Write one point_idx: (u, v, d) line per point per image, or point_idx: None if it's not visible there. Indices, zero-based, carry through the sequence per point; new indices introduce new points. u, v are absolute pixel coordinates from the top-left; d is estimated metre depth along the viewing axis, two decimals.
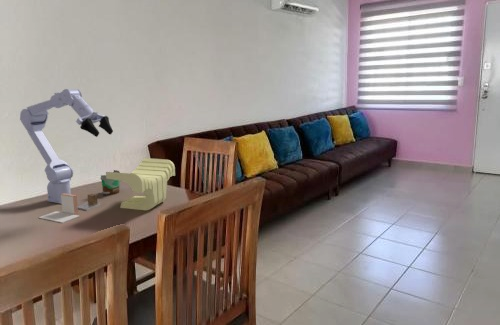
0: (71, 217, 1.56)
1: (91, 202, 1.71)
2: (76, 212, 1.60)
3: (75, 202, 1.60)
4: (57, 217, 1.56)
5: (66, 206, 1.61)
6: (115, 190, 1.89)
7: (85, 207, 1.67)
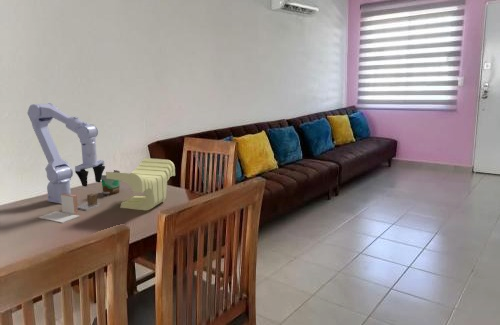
0: (71, 217, 1.56)
1: (91, 202, 1.71)
2: (76, 212, 1.60)
3: (75, 202, 1.60)
4: (57, 217, 1.56)
5: (66, 206, 1.61)
6: (115, 190, 1.89)
7: (85, 207, 1.67)
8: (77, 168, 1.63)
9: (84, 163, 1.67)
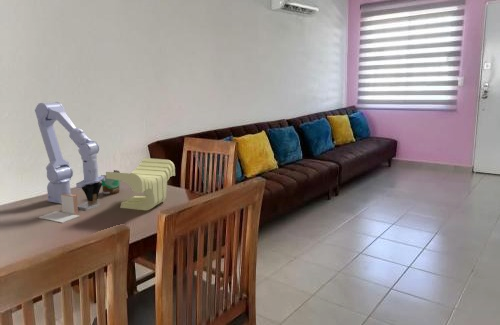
0: (71, 217, 1.56)
1: (91, 201, 1.71)
2: (76, 212, 1.60)
3: (75, 202, 1.60)
4: (57, 217, 1.56)
5: (66, 206, 1.61)
6: (115, 190, 1.89)
7: (85, 207, 1.67)
8: (78, 185, 1.64)
9: (85, 180, 1.68)
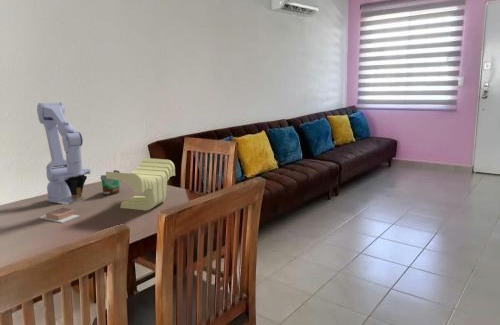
0: (71, 217, 1.56)
1: (75, 195, 1.63)
2: (73, 212, 1.59)
3: (64, 215, 1.55)
4: None
5: None
6: (115, 190, 1.89)
7: (68, 201, 1.59)
8: (61, 178, 1.56)
9: (69, 172, 1.60)
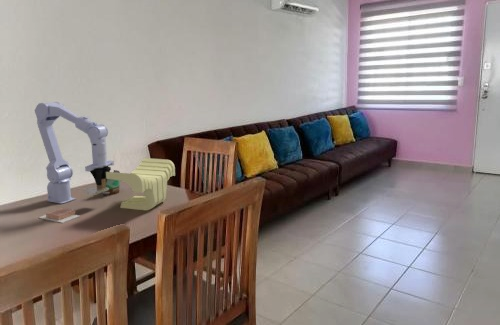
0: (71, 217, 1.56)
1: (100, 186, 1.70)
2: (73, 212, 1.59)
3: (64, 215, 1.55)
4: None
5: None
6: (115, 190, 1.89)
7: (94, 191, 1.65)
8: (87, 168, 1.63)
9: (94, 163, 1.67)
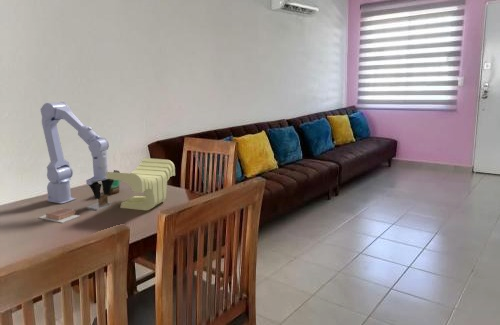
0: (71, 217, 1.56)
1: (101, 202, 1.72)
2: (73, 212, 1.59)
3: (64, 215, 1.55)
4: None
5: None
6: (115, 190, 1.89)
7: (96, 207, 1.67)
8: (88, 182, 1.64)
9: (95, 176, 1.68)
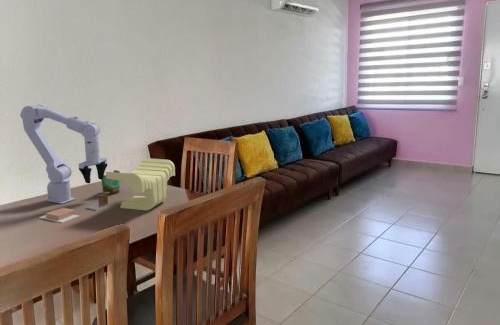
0: (71, 217, 1.56)
1: (101, 202, 1.71)
2: (73, 212, 1.59)
3: (64, 215, 1.55)
4: None
5: None
6: (115, 190, 1.89)
7: (96, 208, 1.67)
8: (81, 165, 1.68)
9: (87, 160, 1.72)
